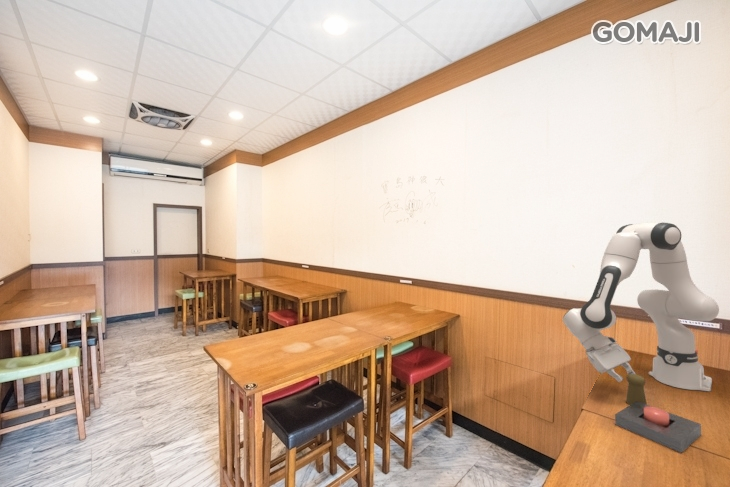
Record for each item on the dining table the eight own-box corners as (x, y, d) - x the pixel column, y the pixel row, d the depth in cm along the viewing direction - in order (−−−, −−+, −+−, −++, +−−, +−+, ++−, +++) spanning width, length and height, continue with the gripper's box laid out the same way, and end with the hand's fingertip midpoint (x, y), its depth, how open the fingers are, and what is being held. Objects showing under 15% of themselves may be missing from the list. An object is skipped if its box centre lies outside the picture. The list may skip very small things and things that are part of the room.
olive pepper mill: (651, 409, 109) (650, 379, 109) (632, 408, 111) (631, 378, 111) (640, 400, 115) (639, 372, 115) (622, 399, 116) (621, 371, 116)
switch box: (637, 410, 109) (636, 401, 109) (701, 435, 95) (700, 424, 95) (615, 424, 101) (614, 414, 101) (681, 453, 87) (680, 441, 87)
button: (648, 416, 102) (648, 404, 102) (672, 425, 97) (672, 413, 97) (640, 421, 99) (640, 409, 99) (665, 431, 94) (664, 418, 94)
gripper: (589, 346, 117) (620, 381, 108) (615, 337, 126) (646, 368, 118) (577, 354, 121) (606, 388, 112) (603, 344, 130) (632, 375, 122)
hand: (627, 378), depth 115 cm, fingers open, 8 cm apart
